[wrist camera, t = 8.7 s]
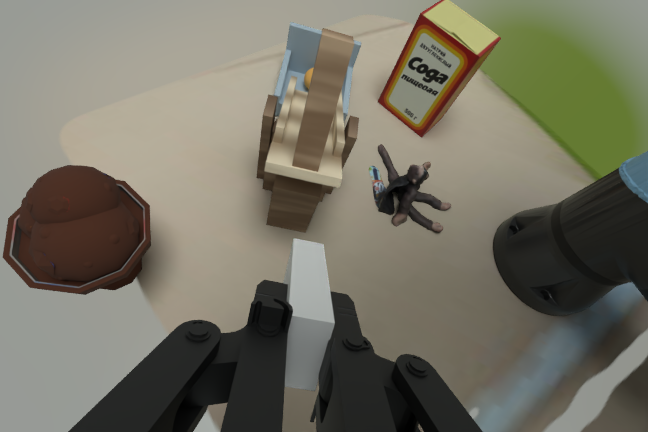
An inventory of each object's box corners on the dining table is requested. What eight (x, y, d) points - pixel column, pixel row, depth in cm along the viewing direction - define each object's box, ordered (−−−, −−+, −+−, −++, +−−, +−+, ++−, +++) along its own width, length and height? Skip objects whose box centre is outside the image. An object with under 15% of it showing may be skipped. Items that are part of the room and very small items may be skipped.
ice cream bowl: (41, 245, 37) (-63, 164, 24) (149, 206, 42) (111, 121, 29) (71, 336, 34) (-29, 299, 21) (185, 284, 39) (160, 227, 26)
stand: (325, 236, 45) (351, 188, 35) (245, 220, 44) (249, 165, 33) (333, 167, 50) (359, 108, 40) (263, 151, 49) (271, 85, 39)
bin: (340, 132, 54) (355, 92, 47) (271, 114, 52) (277, 71, 45) (346, 84, 59) (361, 42, 52) (283, 67, 57) (290, 21, 50)
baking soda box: (377, 101, 59) (421, 10, 45) (398, 85, 62) (446, -6, 48) (421, 137, 57) (481, 54, 43) (441, 118, 60) (503, 35, 46)
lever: (339, 188, 33) (385, 53, 25) (264, 171, 32) (289, 26, 24) (337, 107, 48) (364, 10, 41) (287, 94, 47) (306, -7, 40)
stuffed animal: (430, 249, 47) (391, 177, 42) (376, 245, 55) (338, 183, 50) (467, 195, 52) (436, 125, 48) (413, 198, 60) (382, 138, 55)
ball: (319, 89, 57) (324, 67, 56) (326, 96, 55) (332, 73, 53) (299, 86, 56) (303, 63, 54) (305, 92, 53) (310, 68, 52)
